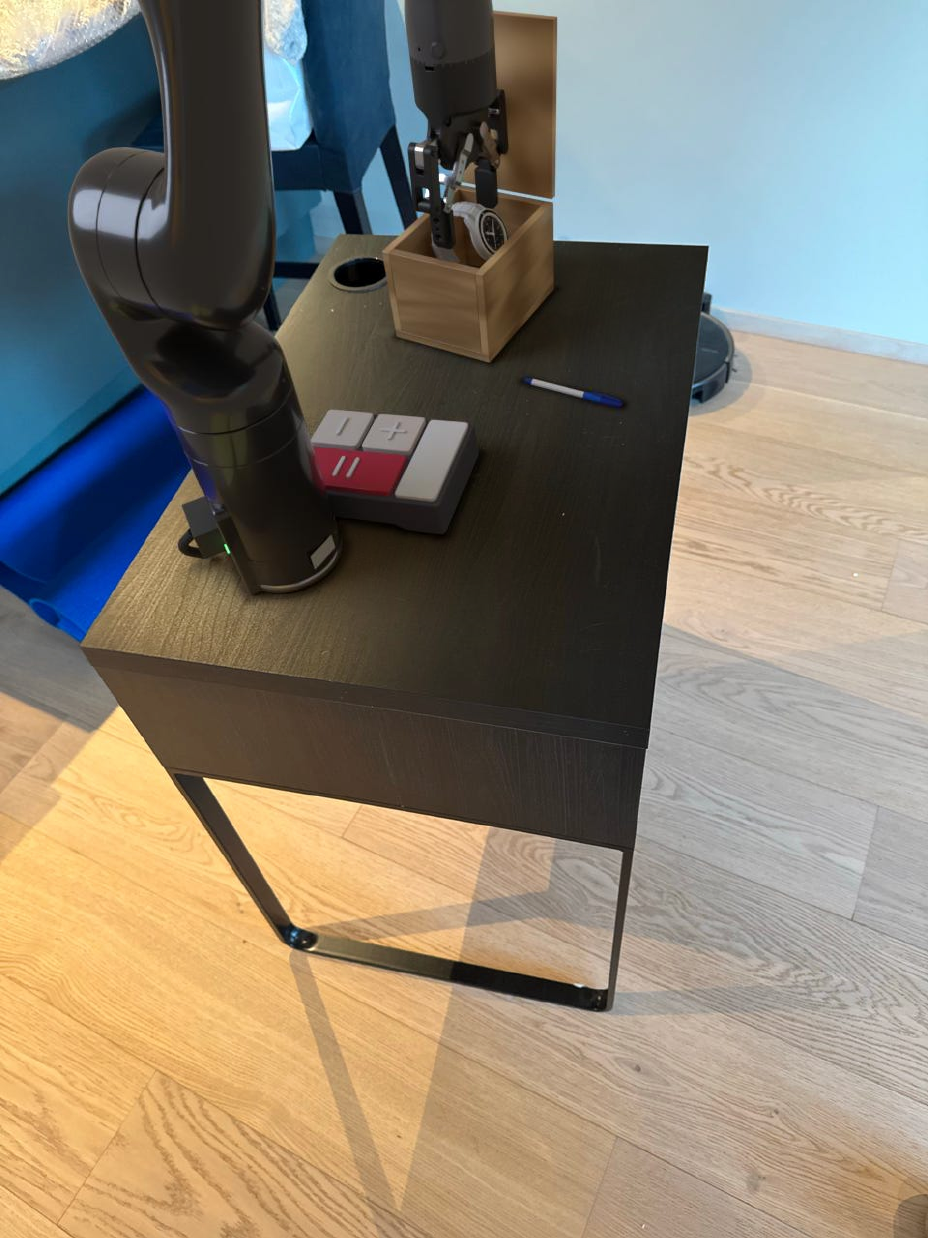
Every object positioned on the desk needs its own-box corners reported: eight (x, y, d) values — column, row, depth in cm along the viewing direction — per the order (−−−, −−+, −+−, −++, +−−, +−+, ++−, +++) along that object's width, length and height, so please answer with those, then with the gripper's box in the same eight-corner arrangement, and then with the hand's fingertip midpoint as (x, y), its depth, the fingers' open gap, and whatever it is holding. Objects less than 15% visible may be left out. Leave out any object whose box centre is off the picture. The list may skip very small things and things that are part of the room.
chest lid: (553, 19, 74) (578, 1, 77) (440, 7, 79) (467, -9, 81) (551, 199, 87) (572, 179, 89) (454, 180, 91) (477, 162, 94)
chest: (489, 362, 88) (482, 274, 80) (396, 336, 92) (381, 250, 84) (553, 289, 95) (553, 201, 87) (464, 268, 99) (456, 183, 91)
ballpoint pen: (624, 404, 82) (624, 396, 81) (620, 410, 82) (621, 402, 81) (526, 381, 86) (526, 373, 85) (522, 386, 85) (522, 378, 84)
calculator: (325, 403, 80) (474, 415, 76) (337, 438, 84) (480, 452, 79) (277, 481, 74) (436, 500, 70) (292, 516, 77) (445, 535, 73)
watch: (498, 326, 90) (492, 226, 81) (432, 314, 93) (418, 215, 84) (518, 298, 93) (514, 198, 84) (453, 286, 95) (443, 189, 87)
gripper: (456, 9, 77) (470, 188, 90) (369, 68, 70) (398, 253, 83) (528, 16, 75) (532, 200, 87) (445, 79, 68) (463, 268, 80)
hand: (466, 225), depth 85 cm, fingers open, 8 cm apart
